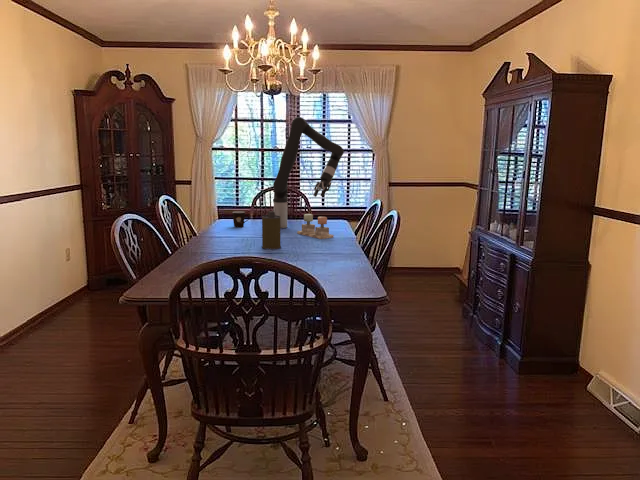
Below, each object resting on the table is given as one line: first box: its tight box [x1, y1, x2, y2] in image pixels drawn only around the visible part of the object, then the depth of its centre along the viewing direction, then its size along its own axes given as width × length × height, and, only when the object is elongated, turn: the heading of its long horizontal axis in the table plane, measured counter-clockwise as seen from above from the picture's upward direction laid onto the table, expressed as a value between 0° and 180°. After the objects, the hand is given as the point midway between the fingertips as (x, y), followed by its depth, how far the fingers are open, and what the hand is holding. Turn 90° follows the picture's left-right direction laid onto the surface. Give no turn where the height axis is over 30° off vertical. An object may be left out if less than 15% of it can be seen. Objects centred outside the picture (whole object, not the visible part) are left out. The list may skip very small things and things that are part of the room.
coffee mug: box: [232, 210, 252, 228], centre depth 355 cm, size 12×9×10 cm
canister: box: [261, 210, 282, 250], centre depth 286 cm, size 11×10×20 cm
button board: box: [296, 223, 334, 240], centre depth 326 cm, size 24×10×6 cm, turn 39°
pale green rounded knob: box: [303, 213, 314, 225], centre depth 330 cm, size 6×6×7 cm
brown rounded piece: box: [317, 216, 328, 228], centre depth 320 cm, size 6×6×7 cm
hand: (318, 196), depth 339 cm, fingers open, 8 cm apart
